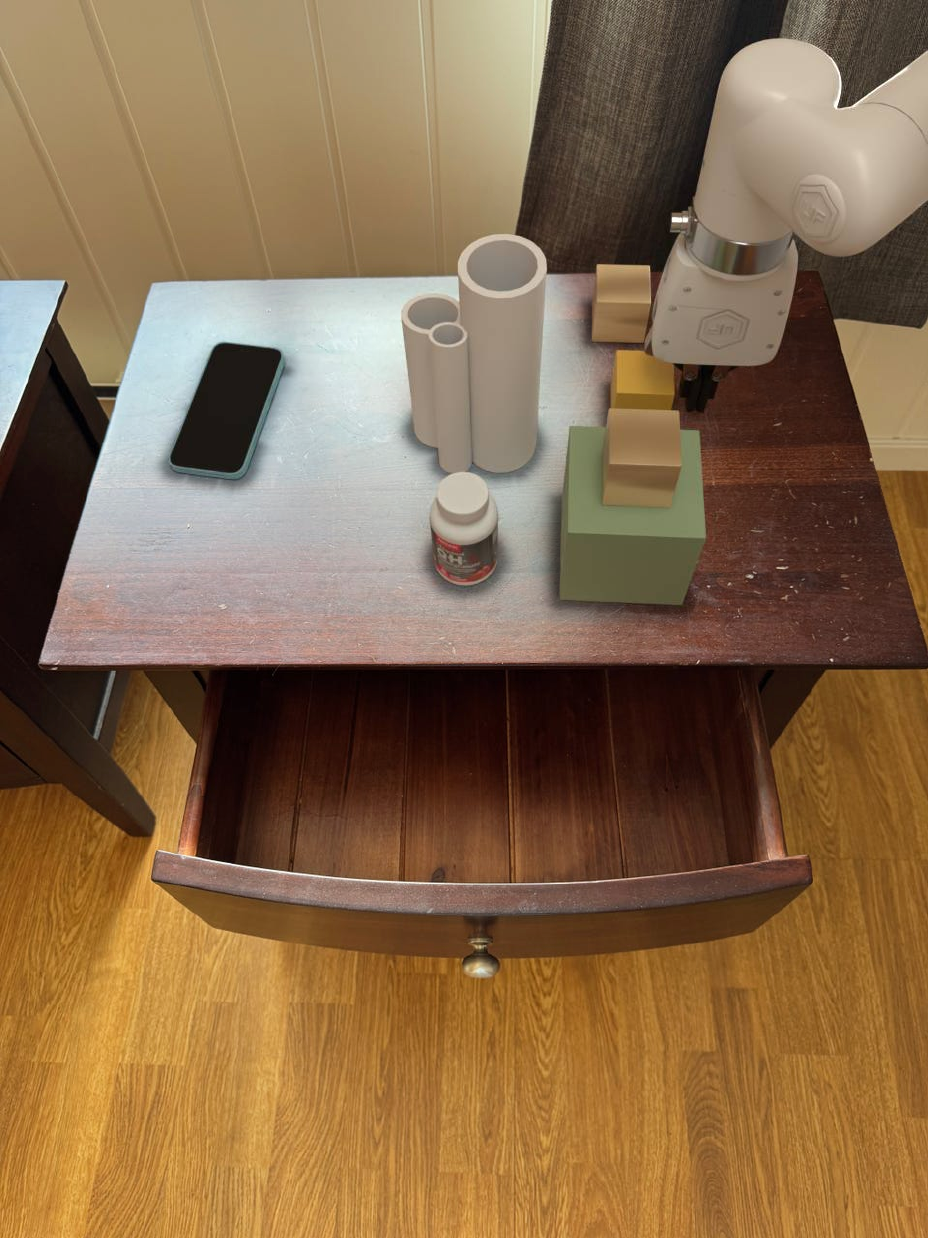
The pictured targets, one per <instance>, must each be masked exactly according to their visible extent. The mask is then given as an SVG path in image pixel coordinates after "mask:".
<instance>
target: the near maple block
mask: <svg viewBox="0 0 928 1238" xmlns="http://www.w3.org/2000/svg"><path fill="white" fill-rule="evenodd" d="M606 419H607V420H606V424H605V427H606V430H605V437H604V443H603V449H602V505H610V506H635V507H661V508H670V506H671V503H672V499H673V496H674V492H675V489H676V485H677V482H678V478H679V475H680V471H681V467H682V458H681V438H680V430H681V421H680V419H681V418H680V411H679V410H674V409H673V410H672V409H671V410H646V409H616V408H611V407H610V408H608V413H607V418H606Z"/></svg>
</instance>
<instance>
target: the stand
mask: <svg viewBox="0 0 928 1238" xmlns="http://www.w3.org/2000/svg"><path fill="white" fill-rule="evenodd" d="M568 429H569V430H568V439H567V447H566V457H565V468H564V477H563V478H564V479H563V487H562V495H561V516H560V517H561V521H560V522H561V523H560V553H559V554H560V558H559V559H560V560H559V595H558V596H559V600H560V601H578V602H598V603H600V602H601V603H618V604H619V603H622V604H623V603H624V604H644V605H645V604H646V605H662V606H663V605H664V606H665V605H666V606H667V605H668V606H683V604H684V601H685V598H686V595H687V593H688V590H689V587H690V584H691V581H692V579H693V575H694V573H695V570H696V568H697V565H698V562H699V559H700V556H701V553H702V551H703V549H704V545H705V543H706V540H707V530H706V516H705V515H706V513H705V499H704V483H703V468H702V467H703V466H702V450H701V435H700V434H701V433H700V430H699V429H680V438H681V458H682V467H681V471H680V475H679V478H678V482H677V485H676V489H675V492H674V496H673V499H672V503H671V506H670V508H661V507H635V506H610V505H602V449H603V443H604V437H605V430H606V426H589V425H588V426H584V425H570V426H569V428H568Z"/></svg>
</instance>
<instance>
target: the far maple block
mask: <svg viewBox="0 0 928 1238" xmlns="http://www.w3.org/2000/svg"><path fill="white" fill-rule="evenodd" d="M651 289H652V287H651V265H647V264H645V265H644V264H643V265H641V264H603V263H602V264H601V263H597V264H596V267H595V276H594V284H593V293H592V300H591V342H594V343H595V342H597V343H633V344H634V343H635V344H644V341H645V338H646V334H647V333H646V332H647V328H648V323H649V317H650V311H651V308H652V307H651V305H652V290H651Z"/></svg>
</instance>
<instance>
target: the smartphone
mask: <svg viewBox="0 0 928 1238" xmlns="http://www.w3.org/2000/svg"><path fill="white" fill-rule="evenodd" d="M285 363H286V360H285V355H284V353H283V351H282V349H280V348H278V347H273V346H272V347H271V346H264V345H258V344H250V343H249V344H248V343H241V342H240V343H238V342H229V341H220V342H217V343H216V344H214V346H213V347H212V348H211V350H210V351H209V354H208V356H207V359H206V362H205V364H204V367H203V369H202V372H201V375H200V377H199V379H198V382H197V384H196V387H195V389H194V392H193V395H192V397H191V399H190V402H189V404H188V407H187V409H186V412H185V415H184V417H183V419H182V422H181V425H180V427H179V429H178V432H177V434H176V436H175V439H174V441H173V444H172V446H171V449H170V452H169V455H168V463H169V466H170V467H171V469H172V470H173V471H175V472H177V473H182V474H189V475H197V476H203V477H210V478H219V479H228V480H238V479H241V478H242V477H243V476H244V475H245V474H246V473H247V471H248V468H249V466H250V463H251V460H252V457H253V455H254V452H255V448H256V445H257V444H258V440H259V438H260V435H261V433H262V432H261V431H262V429H263V426H264V423H265V420H266V417H267V414H268V412H269V409H270V406H271V403H272V400H273V397H274V395H275V393H276V390H277V386H278V383H279V380H280V378H281V375H282V372H283V370H284V366H285Z"/></svg>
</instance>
